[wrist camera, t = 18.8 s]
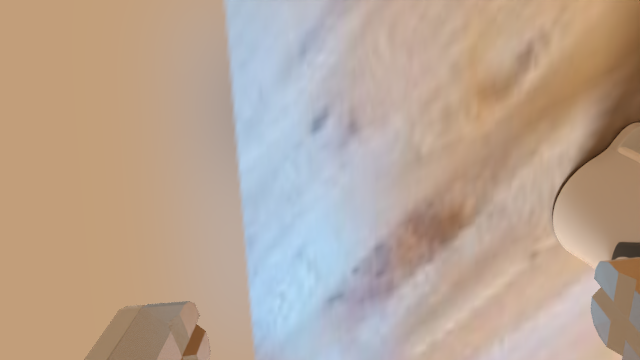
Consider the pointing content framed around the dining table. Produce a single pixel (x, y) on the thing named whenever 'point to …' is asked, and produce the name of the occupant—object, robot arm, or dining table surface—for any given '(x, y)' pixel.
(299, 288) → the dining table surface
